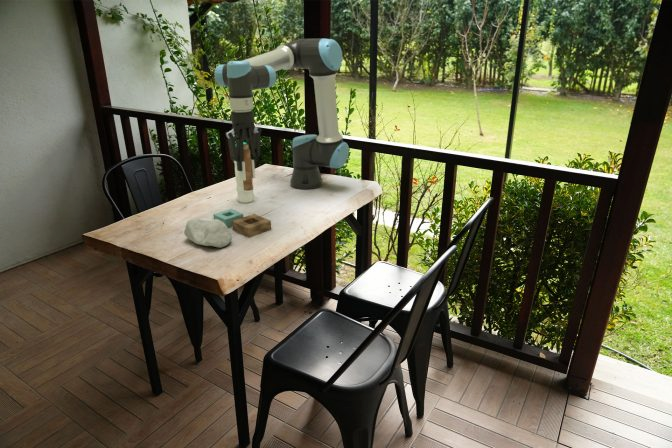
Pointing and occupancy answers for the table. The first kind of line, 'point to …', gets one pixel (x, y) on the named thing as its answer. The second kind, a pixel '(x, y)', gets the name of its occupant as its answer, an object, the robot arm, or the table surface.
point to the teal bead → (228, 216)
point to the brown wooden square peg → (247, 168)
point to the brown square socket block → (251, 225)
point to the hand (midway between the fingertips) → (247, 178)
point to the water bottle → (242, 188)
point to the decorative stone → (208, 232)
